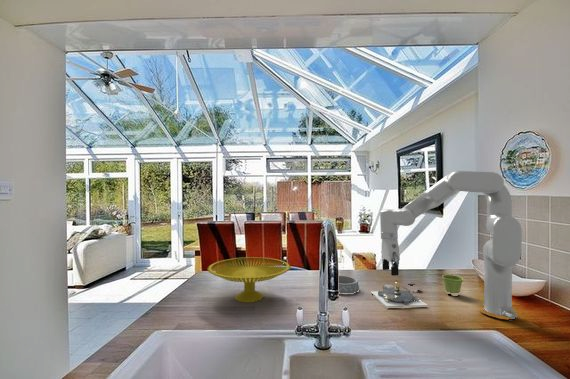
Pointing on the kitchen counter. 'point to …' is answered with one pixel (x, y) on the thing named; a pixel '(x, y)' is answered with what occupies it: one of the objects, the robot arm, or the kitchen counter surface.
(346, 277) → the dog bowl
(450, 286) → the plant pot
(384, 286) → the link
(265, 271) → the cake stand
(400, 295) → the sprocket
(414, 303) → the base plate
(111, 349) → the kitchen counter surface
